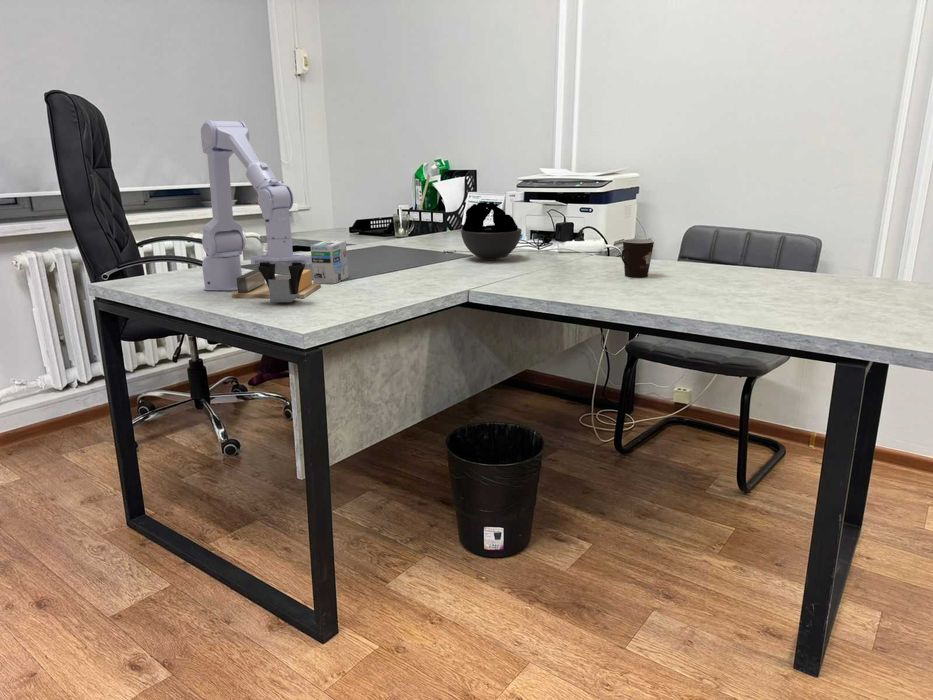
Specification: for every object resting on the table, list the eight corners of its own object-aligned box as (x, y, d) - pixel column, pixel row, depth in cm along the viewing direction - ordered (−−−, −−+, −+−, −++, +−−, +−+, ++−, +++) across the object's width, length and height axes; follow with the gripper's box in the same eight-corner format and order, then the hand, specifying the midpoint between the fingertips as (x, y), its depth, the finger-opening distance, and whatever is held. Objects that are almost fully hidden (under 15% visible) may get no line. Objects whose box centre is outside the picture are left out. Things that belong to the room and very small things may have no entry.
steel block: (270, 302, 159) (268, 279, 157) (279, 296, 164) (277, 274, 163) (290, 302, 158) (288, 279, 157) (298, 296, 164) (297, 275, 162)
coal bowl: (475, 253, 233) (474, 199, 227) (529, 256, 225) (529, 200, 220) (451, 262, 215) (450, 204, 210) (509, 266, 208) (509, 205, 202)
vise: (231, 297, 168) (229, 278, 166) (253, 286, 181) (251, 268, 180) (303, 298, 166) (302, 278, 165) (320, 287, 179) (319, 269, 178)
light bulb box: (335, 284, 183) (332, 245, 180) (312, 283, 185) (309, 245, 181) (349, 277, 193) (346, 240, 190) (327, 276, 195) (324, 240, 191)
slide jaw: (285, 292, 167) (284, 278, 166) (301, 283, 179) (300, 269, 177) (297, 292, 167) (295, 278, 166) (312, 283, 178) (310, 269, 177)
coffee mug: (640, 272, 194) (643, 238, 191) (657, 277, 186) (660, 242, 184) (606, 275, 191) (607, 240, 188) (621, 280, 183) (623, 244, 180)
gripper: (242, 239, 154) (249, 296, 158) (303, 239, 152) (307, 297, 157) (254, 235, 161) (260, 290, 165) (312, 235, 159) (317, 290, 163)
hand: (284, 293), depth 161 cm, fingers closed on steel block, 5 cm apart
